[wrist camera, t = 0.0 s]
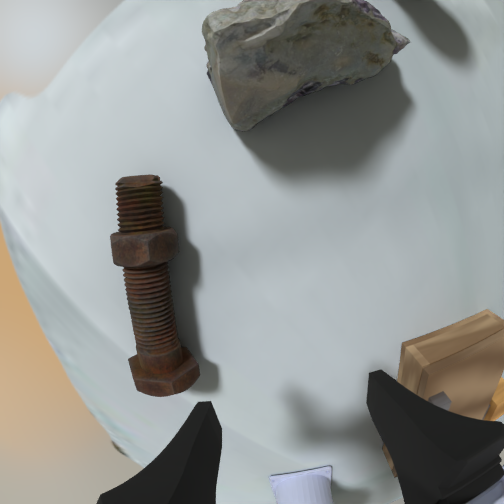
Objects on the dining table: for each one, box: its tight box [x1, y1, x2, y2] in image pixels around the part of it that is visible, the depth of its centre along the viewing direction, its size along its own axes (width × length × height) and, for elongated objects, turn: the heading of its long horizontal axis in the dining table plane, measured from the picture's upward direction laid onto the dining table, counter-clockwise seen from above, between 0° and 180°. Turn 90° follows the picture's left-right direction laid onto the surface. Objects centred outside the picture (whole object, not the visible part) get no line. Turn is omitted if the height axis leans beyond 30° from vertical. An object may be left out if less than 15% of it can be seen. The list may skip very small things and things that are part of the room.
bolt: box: [110, 175, 200, 397], centre depth 18 cm, size 6×5×15 cm
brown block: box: [484, 377, 504, 421], centre depth 21 cm, size 4×4×6 cm
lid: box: [392, 329, 504, 478], centre depth 19 cm, size 18×13×5 cm
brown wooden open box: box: [383, 309, 504, 470], centre depth 22 cm, size 18×12×4 cm, turn 10°
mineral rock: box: [202, 0, 410, 131], centre depth 12 cm, size 13×11×10 cm
